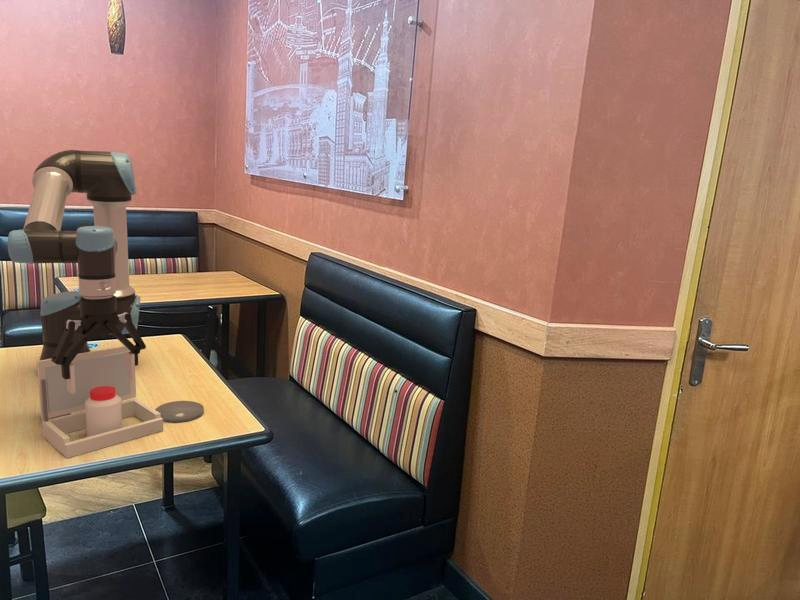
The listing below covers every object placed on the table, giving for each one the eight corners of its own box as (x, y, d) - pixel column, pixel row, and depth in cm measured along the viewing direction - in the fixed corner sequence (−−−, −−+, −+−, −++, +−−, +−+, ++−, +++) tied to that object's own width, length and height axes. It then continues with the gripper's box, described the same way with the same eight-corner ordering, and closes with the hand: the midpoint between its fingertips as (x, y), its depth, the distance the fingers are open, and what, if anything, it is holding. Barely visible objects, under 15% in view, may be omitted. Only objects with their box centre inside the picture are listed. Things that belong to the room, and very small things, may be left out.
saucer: (146, 412, 162) (145, 408, 162) (188, 400, 171) (188, 397, 171) (169, 426, 155) (169, 423, 154) (212, 414, 163) (212, 410, 163)
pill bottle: (108, 443, 145) (106, 397, 142) (79, 438, 146) (76, 393, 144) (129, 429, 152) (127, 386, 150) (101, 425, 153) (98, 382, 151)
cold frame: (42, 435, 146) (36, 361, 142) (135, 411, 162) (132, 344, 158) (67, 458, 136) (62, 378, 132) (163, 430, 152) (161, 358, 148)
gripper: (43, 305, 130) (50, 402, 134) (159, 292, 148) (161, 378, 153) (31, 299, 135) (37, 393, 139) (144, 287, 153) (146, 370, 158)
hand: (102, 385), depth 146 cm, fingers open, 13 cm apart
